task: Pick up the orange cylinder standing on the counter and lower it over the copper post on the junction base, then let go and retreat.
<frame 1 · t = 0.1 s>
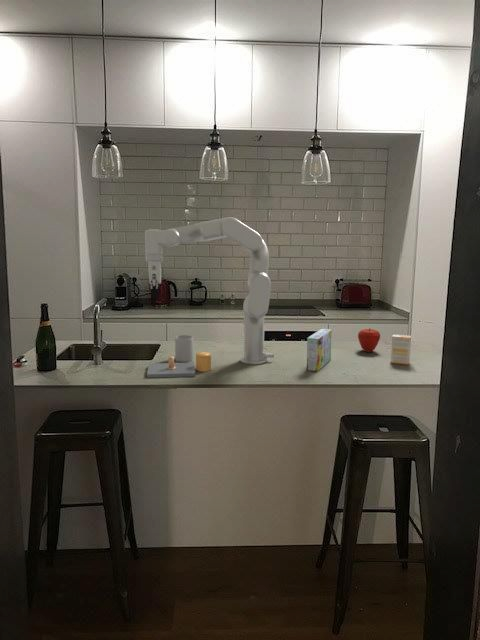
hand: (155, 296, 223), 31 cm above the worktop, fingers open, 9 cm apart
junction base: (171, 371, 217), on the worktop
orange cylinder: (203, 369, 221), on the worktop
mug: (184, 359, 237), on the worktop
snack box: (318, 365, 229), on the worktop
apple: (368, 351, 254), on the worktop
supplement box: (399, 363, 234), on the worktop
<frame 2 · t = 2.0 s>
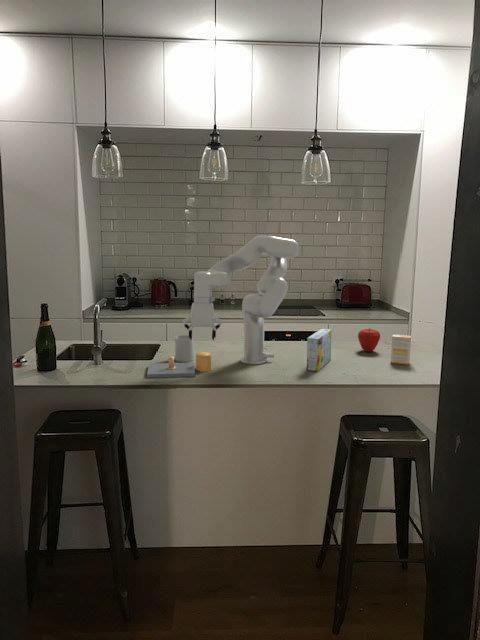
hand: (202, 339, 218), 14 cm above the worktop, fingers open, 9 cm apart
nothing on the worktop moved.
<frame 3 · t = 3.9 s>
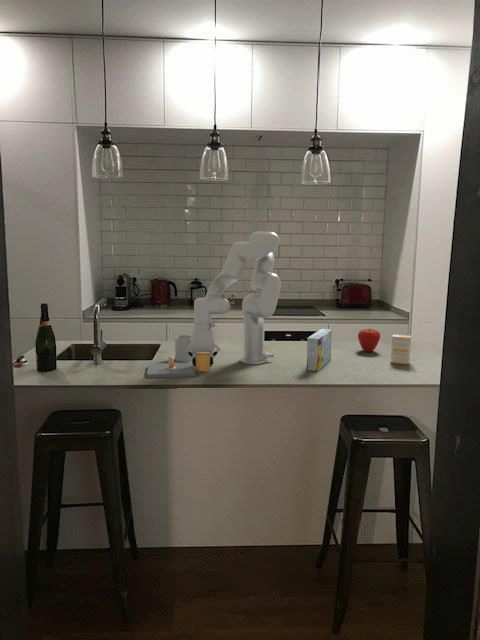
hand: (202, 365, 220), 2 cm above the worktop, fingers closed on orange cylinder, 6 cm apart
orange cylinder: (202, 369, 220), on the worktop, touching gripper
everything else where it was.
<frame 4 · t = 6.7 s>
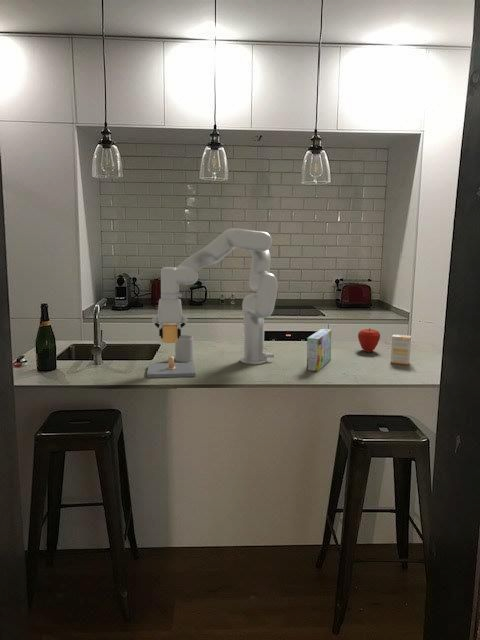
hand: (170, 337, 214), 15 cm above the worktop, fingers closed on orange cylinder, 6 cm apart
orange cylinder: (170, 341, 214), point 14 cm above the worktop, touching gripper
everything else where it was.
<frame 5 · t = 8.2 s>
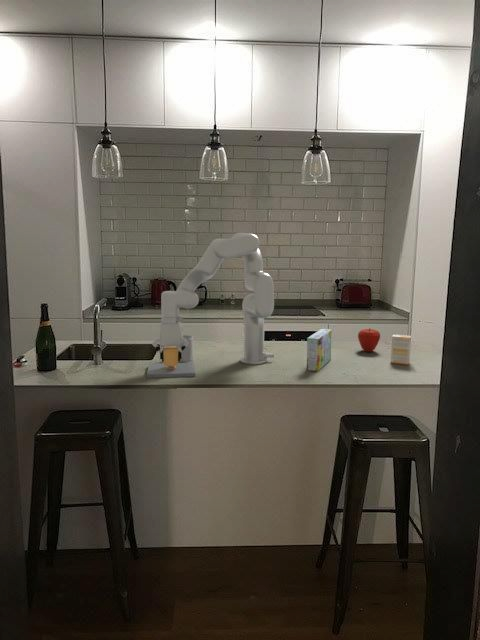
hand: (170, 360, 216), 5 cm above the worktop, fingers closed on orange cylinder, 6 cm apart
orange cylinder: (170, 363, 216), point 3 cm above the worktop, touching gripper
everything else where it was.
when the fingers open (4 cm above the worktop, at t = 9.3 s): orange cylinder stays where it is, resting on junction base.
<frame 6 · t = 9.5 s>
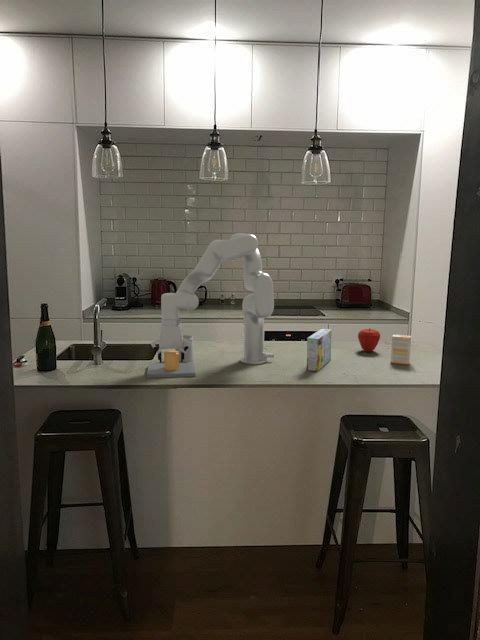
hand: (171, 361, 216), 5 cm above the worktop, fingers open, 8 cm apart
orange cylinder: (171, 368, 217), point 1 cm above the worktop, touching junction base
everything else where it was.
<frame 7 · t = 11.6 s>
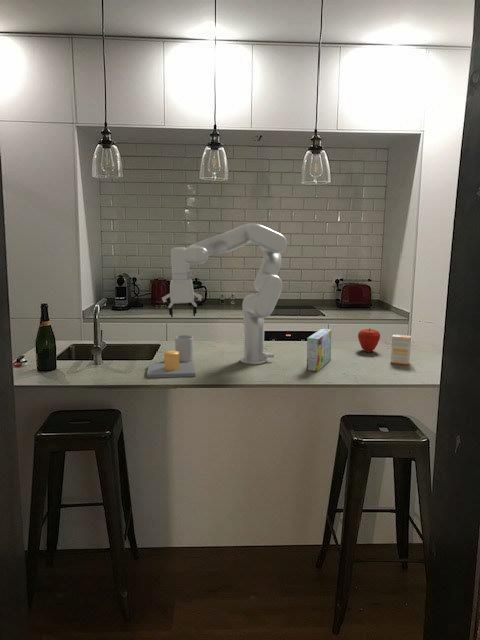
hand: (183, 315, 216), 24 cm above the worktop, fingers open, 9 cm apart
nothing on the worktop moved.
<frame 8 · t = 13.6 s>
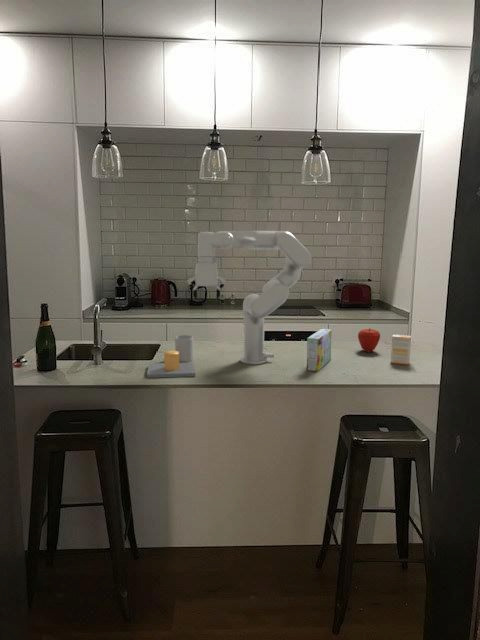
hand: (206, 298, 223), 30 cm above the worktop, fingers open, 9 cm apart
nothing on the worktop moved.
at the end: orange cylinder 0.2 cm off-centre on the junction base, point 1.5 cm above the junction base's base; orange cylinder tilted 0°; the gripper is holding nothing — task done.
